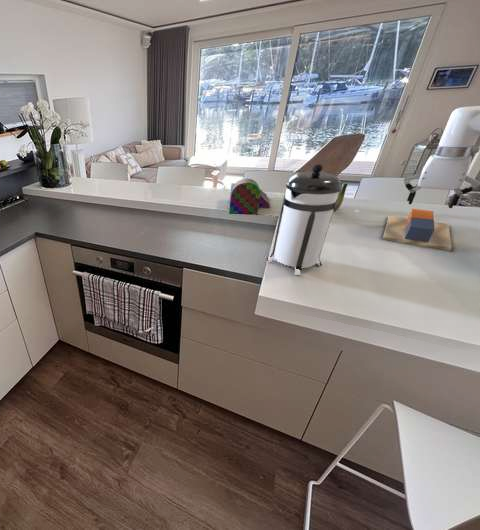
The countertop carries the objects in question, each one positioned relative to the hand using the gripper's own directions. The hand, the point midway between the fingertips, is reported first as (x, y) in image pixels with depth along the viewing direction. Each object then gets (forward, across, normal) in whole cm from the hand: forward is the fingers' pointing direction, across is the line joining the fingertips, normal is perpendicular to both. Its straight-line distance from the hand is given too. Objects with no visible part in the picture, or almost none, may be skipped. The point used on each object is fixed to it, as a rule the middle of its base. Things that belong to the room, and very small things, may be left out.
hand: (429, 205), depth 97 cm
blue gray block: (+9, +1, +10) cm, 13 cm away
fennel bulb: (+8, +28, -8) cm, 30 cm away
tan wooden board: (+9, +1, +4) cm, 10 cm away
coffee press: (+8, +28, +46) cm, 54 cm away
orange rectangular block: (+8, +1, 0) cm, 8 cm away
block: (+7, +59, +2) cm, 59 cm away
